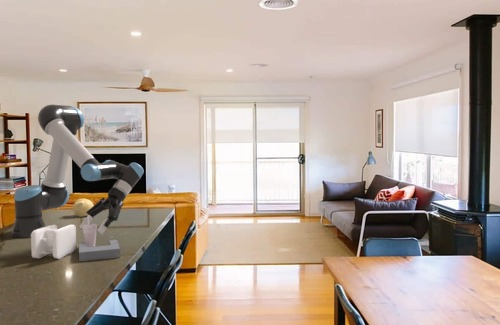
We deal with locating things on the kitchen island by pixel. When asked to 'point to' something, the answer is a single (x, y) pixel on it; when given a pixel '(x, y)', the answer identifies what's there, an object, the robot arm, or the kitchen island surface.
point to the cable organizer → (53, 241)
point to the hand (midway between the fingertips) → (90, 230)
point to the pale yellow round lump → (82, 207)
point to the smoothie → (90, 233)
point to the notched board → (99, 251)
